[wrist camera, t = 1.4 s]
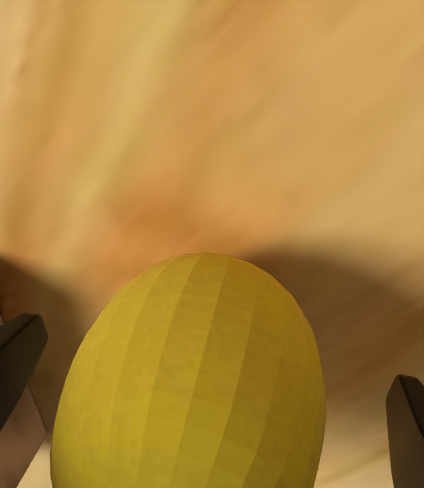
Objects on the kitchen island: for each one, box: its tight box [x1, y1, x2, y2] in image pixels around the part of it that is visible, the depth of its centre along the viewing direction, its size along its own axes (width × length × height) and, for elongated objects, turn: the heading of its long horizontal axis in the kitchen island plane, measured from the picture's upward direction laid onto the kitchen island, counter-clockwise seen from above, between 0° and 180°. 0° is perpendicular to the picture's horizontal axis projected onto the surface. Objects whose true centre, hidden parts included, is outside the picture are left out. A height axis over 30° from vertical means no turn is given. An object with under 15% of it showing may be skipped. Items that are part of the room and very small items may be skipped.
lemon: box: [50, 253, 326, 488], centre depth 9 cm, size 6×6×8 cm
